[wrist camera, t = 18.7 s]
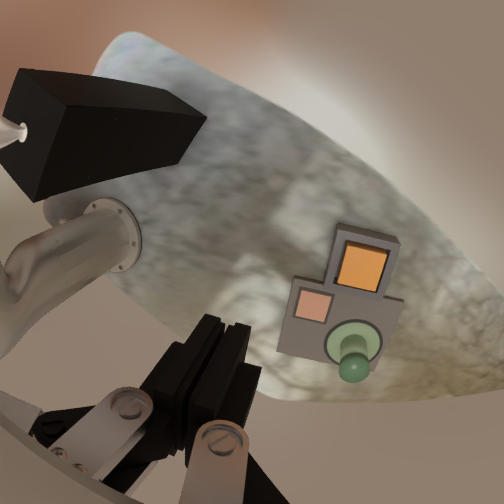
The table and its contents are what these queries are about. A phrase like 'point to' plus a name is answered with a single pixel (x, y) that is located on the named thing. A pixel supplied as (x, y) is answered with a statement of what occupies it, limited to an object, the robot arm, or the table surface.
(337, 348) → the colouring board
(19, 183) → the tissue box
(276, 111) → the table surface
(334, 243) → the button housing
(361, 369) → the green capped cylinder
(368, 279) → the button
